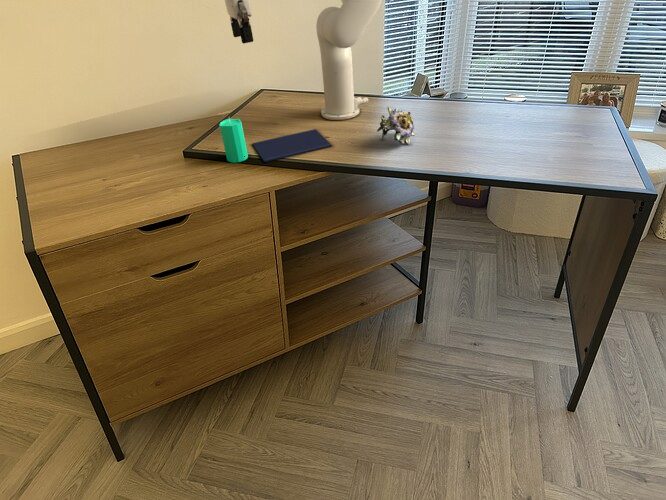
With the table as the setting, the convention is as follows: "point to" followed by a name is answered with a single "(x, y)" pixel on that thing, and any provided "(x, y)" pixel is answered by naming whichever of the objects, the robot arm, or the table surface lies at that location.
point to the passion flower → (398, 125)
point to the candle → (233, 140)
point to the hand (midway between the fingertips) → (243, 39)
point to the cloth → (291, 145)
